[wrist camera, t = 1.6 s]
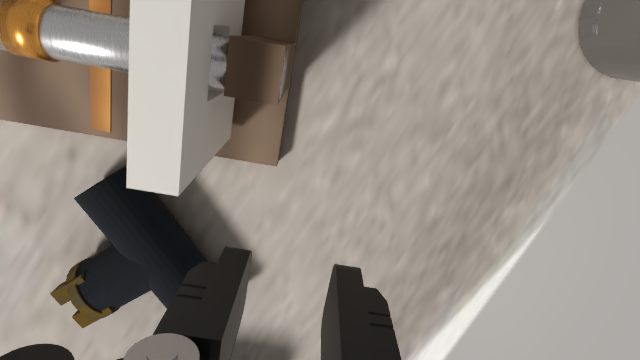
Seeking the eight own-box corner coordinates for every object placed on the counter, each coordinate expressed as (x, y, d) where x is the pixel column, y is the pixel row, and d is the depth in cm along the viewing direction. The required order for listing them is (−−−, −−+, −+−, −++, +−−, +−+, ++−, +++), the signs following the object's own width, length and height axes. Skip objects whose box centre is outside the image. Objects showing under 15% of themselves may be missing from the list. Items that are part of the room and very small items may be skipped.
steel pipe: (289, 43, 25) (285, 45, 21) (282, 97, 26) (276, 106, 23) (-89, -28, 23) (-151, -37, 20) (-80, 33, 24) (-138, 32, 21)
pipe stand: (310, -51, 29) (305, -92, 20) (278, 160, 34) (262, 208, 25) (-8, -115, 28) (-177, -192, 18) (10, 115, 33) (-114, 147, 24)
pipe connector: (120, 377, 36) (-5, 246, 31) (144, 336, 41) (39, 218, 36) (228, 321, 34) (112, 175, 30) (239, 285, 39) (141, 155, 35)
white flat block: (248, -36, 27) (197, -87, 16) (230, 137, 31) (178, 196, 20) (211, -44, 27) (131, -100, 16) (197, 131, 31) (126, 187, 20)
